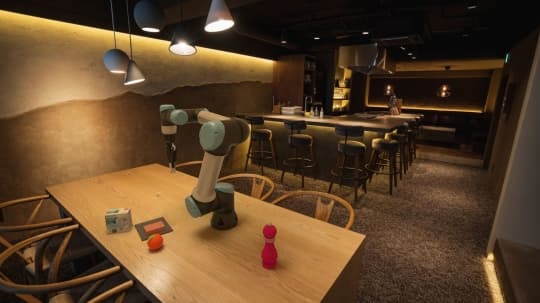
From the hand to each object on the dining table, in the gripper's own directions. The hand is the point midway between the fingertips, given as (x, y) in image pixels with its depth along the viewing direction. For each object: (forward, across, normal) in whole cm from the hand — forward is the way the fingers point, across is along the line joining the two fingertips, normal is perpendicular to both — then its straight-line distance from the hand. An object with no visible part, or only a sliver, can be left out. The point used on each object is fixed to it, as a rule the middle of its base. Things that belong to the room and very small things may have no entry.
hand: (172, 172), depth 144 cm
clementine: (+26, -28, +21) cm, 44 cm away
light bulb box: (+26, 0, +30) cm, 39 cm away
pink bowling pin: (+26, -71, -14) cm, 77 cm away
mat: (+25, -10, +16) cm, 31 cm away
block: (+24, -10, +16) cm, 30 cm away
